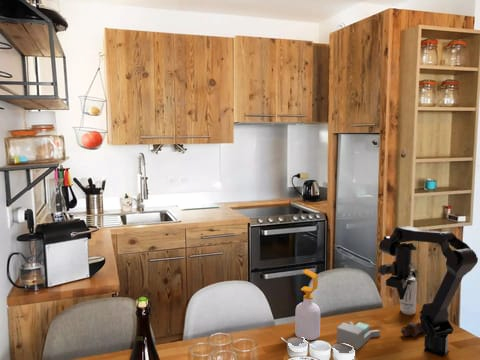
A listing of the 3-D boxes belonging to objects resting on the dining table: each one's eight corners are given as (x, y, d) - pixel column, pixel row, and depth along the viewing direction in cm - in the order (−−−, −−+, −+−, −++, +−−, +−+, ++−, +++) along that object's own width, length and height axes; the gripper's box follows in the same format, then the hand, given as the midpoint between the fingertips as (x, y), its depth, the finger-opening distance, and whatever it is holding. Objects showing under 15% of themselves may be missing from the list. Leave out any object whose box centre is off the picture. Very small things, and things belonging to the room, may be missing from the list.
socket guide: (380, 335, 152) (381, 320, 151) (363, 351, 140) (364, 336, 140) (349, 326, 160) (350, 311, 159) (331, 340, 148) (331, 325, 147)
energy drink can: (398, 312, 172) (399, 278, 170) (402, 308, 177) (403, 274, 175) (413, 316, 168) (415, 281, 167) (417, 311, 173) (418, 277, 172)
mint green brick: (369, 335, 153) (369, 325, 152) (355, 348, 143) (356, 337, 143) (358, 332, 155) (359, 322, 155) (345, 344, 146) (345, 333, 145)
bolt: (401, 340, 152) (431, 332, 158) (411, 339, 148) (441, 330, 154) (396, 324, 154) (425, 316, 160) (405, 323, 150) (434, 314, 156)
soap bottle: (300, 327, 158) (301, 265, 156) (323, 333, 154) (324, 269, 151) (291, 336, 151) (292, 272, 148) (314, 343, 146) (316, 276, 144)
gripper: (390, 250, 166) (389, 287, 168) (372, 260, 152) (371, 301, 154) (419, 255, 159) (417, 294, 161) (403, 266, 145) (401, 309, 147)
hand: (401, 299), depth 156 cm, fingers closed
